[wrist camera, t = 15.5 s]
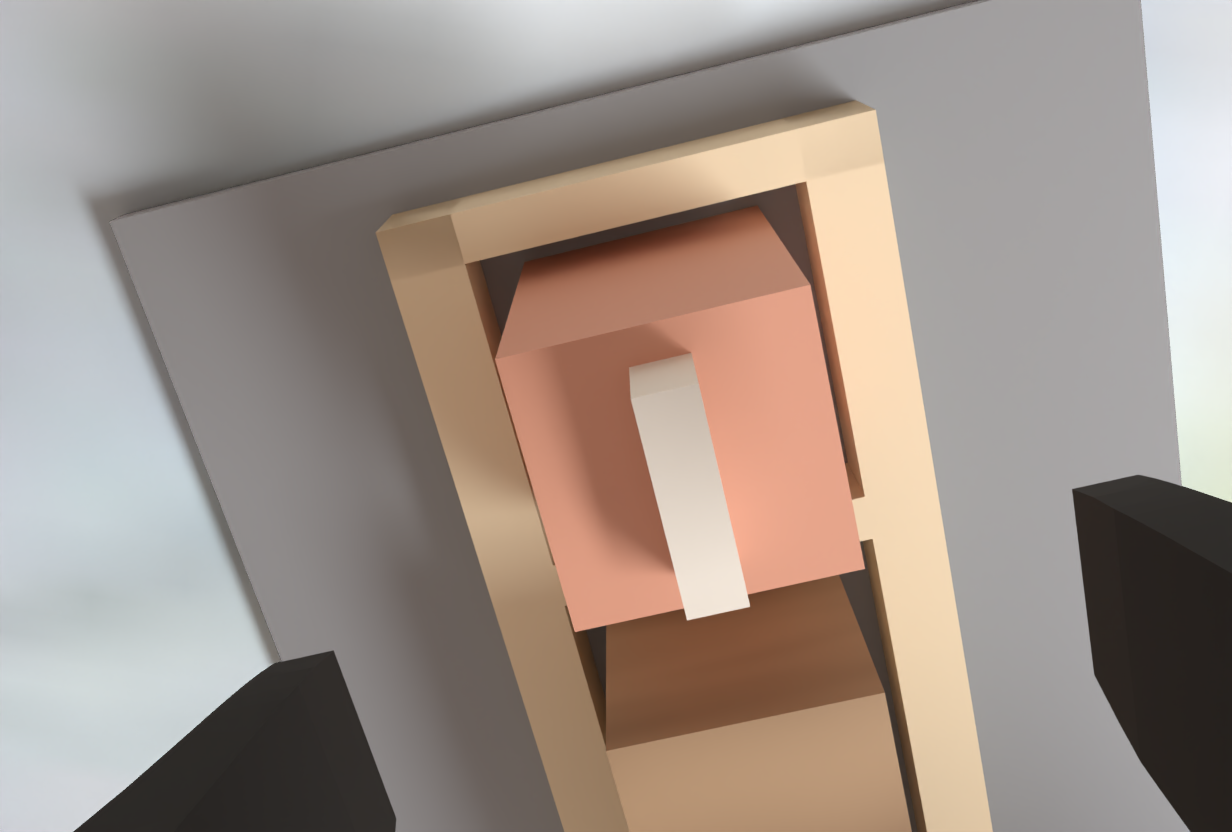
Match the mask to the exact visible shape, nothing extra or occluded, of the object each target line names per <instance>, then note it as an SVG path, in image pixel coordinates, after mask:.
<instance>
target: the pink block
mask: <svg viewBox="0 0 1232 832" xmlns="http://www.w3.org/2000/svg"><path fill="white" fill-rule="evenodd" d="M495 361H496V364H497V368H498V371H499V375H500V378H501V382H502V385H503V388H504V392H505V395H506V399H507V402H508V405H509V409H510V412H511V416H512V419H513V423H514V426H515V429H516V433H517V436H518V440H519V443H520V446H521V450H522V453H523V457H524V460H525V464H526V467H527V470H528V474H529V477H530V481H531V484H532V487H533V491H534V494H535V498H536V501H537V504H538V508H539V511H540V515H541V518H542V522H543V525H544V528H545V532H546V535H547V539H548V542H549V545H550V549H551V552H552V556H553V559H554V563H555V566H556V569H557V573H558V576H559V580H560V583H561V586H562V590H563V593H564V597H565V600H566V603H567V607H568V610H569V614H570V617H571V621H572V624H573V627H574V631H575V632H578V631H582V630H587V629H592V628H596V627H601V626H605V625H610V624H614V623H619V622H624V621H628V620H633V619H637V618H642V617H647V616H651V615H656V614H660V613H665V612H670V611H674V610H679V609H683V608H684V610H685V614H686V618H687V620H692V619H696V618H701V617H706V616H710V615H715V614H719V613H724V612H729V611H733V610H738V609H742V608H747V607H750V603H749V599H748V594H752V593H757V592H761V591H766V590H771V589H775V588H780V587H784V586H789V585H794V584H798V583H803V582H807V581H812V580H816V579H821V578H826V577H830V576H835V575H839V574H844V573H849V572H853V571H858V570H862V569H865V566H864V561H863V556H862V550H861V545H860V540H859V535H858V530H857V524H856V519H855V514H854V509H853V503H852V498H851V493H850V488H849V483H848V477H847V472H846V467H845V462H844V457H843V451H842V446H841V441H840V436H839V431H838V425H837V420H836V415H835V410H834V405H833V399H832V394H831V389H830V384H829V379H828V373H827V368H826V363H825V358H824V353H823V347H822V342H821V337H820V332H819V327H818V321H817V316H816V311H815V306H814V301H813V295H812V290H811V285H810V283H809V282H808V280H807V279H806V277H805V276H804V274H803V273H802V271H801V270H800V268H799V267H798V265H797V264H796V262H795V261H794V259H793V258H792V256H791V255H790V253H789V252H788V250H787V249H786V247H785V246H784V244H783V243H782V241H781V240H780V238H779V237H778V235H777V234H776V232H775V231H774V229H773V228H772V226H771V225H770V223H769V222H768V220H767V219H766V218H765V216H764V215H763V213H762V212H761V210H760V209H759V207H758V206H757V205H756V206H752V207H748V208H744V209H740V210H736V211H732V212H728V213H723V214H719V215H715V216H711V217H707V218H703V219H699V220H695V221H691V222H686V223H682V224H678V225H674V226H670V227H666V228H662V229H658V230H654V231H650V232H645V233H641V234H637V235H633V236H629V237H625V238H621V239H617V240H613V241H608V242H604V243H600V244H596V245H592V246H588V247H584V248H580V249H576V250H571V251H567V252H563V253H559V254H555V255H551V256H547V257H543V258H539V259H534V260H530V261H526V262H524V265H523V268H522V272H521V275H520V278H519V282H518V285H517V288H516V292H515V295H514V298H513V302H512V305H511V308H510V312H509V315H508V318H507V321H506V325H505V328H504V331H503V335H502V338H501V341H500V345H499V348H498V351H497V355H496V358H495Z"/></svg>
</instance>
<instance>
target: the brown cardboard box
mask: <svg viewBox="0 0 1232 832" xmlns="http://www.w3.org/2000/svg"><path fill="white" fill-rule="evenodd" d="M748 599H749V603H750V607H747V608H742V609H738V610H733V611H729V612H724V613H719V614H715V615H710V616H706V617H701V618H696V619H692V620H687V618H686V614H685V610H684V608H683V609H679V610H674V611H670V612H665V613H660V614H656V615H651V616H647V617H642V618H637V619H633V620H628V621H624V622H619V623H614V624H610V625H606V753H607V757H608V760H609V763H610V767H611V770H612V774H613V777H614V780H615V784H616V787H617V791H618V794H619V797H620V801H621V804H622V808H623V811H624V814H625V818H626V821H627V824H628V828H629V831H630V832H912V830H911V825H910V819H909V814H908V809H907V804H906V799H905V794H904V788H903V783H902V778H901V773H900V768H899V763H898V758H897V752H896V747H895V742H894V737H893V732H892V727H891V721H890V716H889V711H888V706H887V701H886V696H885V692H884V689H883V686H882V684H881V681H880V679H879V676H878V674H877V671H876V668H875V666H874V663H873V661H872V658H871V656H870V653H869V650H868V648H867V645H866V643H865V640H864V638H863V635H862V632H861V630H860V627H859V625H858V622H857V620H856V617H855V615H854V612H853V609H852V607H851V604H850V602H849V599H848V597H847V594H846V591H845V589H844V586H843V584H842V581H841V579H840V576H839V575H835V576H830V577H826V578H821V579H816V580H812V581H807V582H803V583H798V584H794V585H789V586H784V587H780V588H775V589H771V590H766V591H761V592H757V593H752V594H748Z"/></svg>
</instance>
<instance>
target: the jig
mask: <svg viewBox="0 0 1232 832" xmlns="http://www.w3.org/2000/svg"><path fill="white" fill-rule="evenodd" d="M756 205H757V206H758V207H759V209H760V210H761V212H762V213H763V215H764V216H765V218H766V219H767V220H768V222H769V223H770V225H771V226H772V228H773V229H774V231H775V232H776V234H777V235H778V237H779V238H780V240H781V241H782V243H783V244H784V246H785V247H786V249H787V250H788V252H789V253H790V255H791V256H792V258H793V259H794V261H795V262H796V264H797V265H798V267H799V268H800V270H801V271H802V273H803V274H804V276H805V277H806V279H807V280H808V282H809V283H810V285H811V290H812V295H813V301H814V306H815V311H816V316H817V321H818V327H819V332H820V337H821V342H822V347H823V353H824V358H825V363H826V368H827V373H828V379H829V384H830V389H831V394H832V399H833V405H834V410H835V415H836V420H837V425H838V431H839V436H840V441H841V446H842V451H843V457H844V462H845V467H846V472H847V477H848V483H849V488H850V493H851V498H852V503H853V509H854V514H855V519H856V524H857V530H858V535H859V540H860V545H861V550H862V556H863V561H864V566H865V569H862V570H858V571H853V572H849V573H844V574H839V576H840V579H841V581H842V584H843V586H844V589H845V591H846V594H847V597H848V599H849V602H850V604H851V607H852V609H853V612H854V615H855V617H856V620H857V622H858V625H859V627H860V630H861V632H862V635H863V638H864V640H865V643H866V645H867V648H868V650H869V653H870V656H871V658H872V661H873V663H874V666H875V668H876V671H877V674H878V676H879V679H880V681H881V684H882V686H883V689H884V692H885V696H886V701H887V706H888V711H889V716H890V721H891V727H892V732H893V737H894V742H895V747H896V752H897V758H898V763H899V768H900V773H901V778H902V783H903V788H904V794H905V799H906V804H907V809H908V814H909V819H910V825H911V830H912V832H1190V831H1189V829H1188V828H1187V827H1186V825H1185V824H1184V822H1183V821H1182V820H1181V818H1180V817H1179V815H1178V814H1177V813H1176V811H1175V810H1174V808H1173V807H1172V806H1171V804H1170V803H1169V801H1168V800H1167V799H1166V797H1165V796H1164V794H1163V793H1162V792H1161V790H1160V789H1159V788H1158V786H1157V785H1156V783H1155V782H1154V780H1153V779H1152V778H1151V776H1150V775H1149V773H1148V772H1147V770H1146V769H1145V768H1144V766H1143V765H1142V763H1141V762H1140V760H1139V758H1138V756H1137V755H1136V753H1135V751H1134V749H1133V747H1132V745H1131V744H1130V742H1129V740H1128V738H1127V736H1126V735H1125V733H1124V731H1123V729H1122V727H1121V725H1120V724H1119V722H1118V720H1117V718H1116V716H1115V714H1114V712H1113V710H1112V708H1111V706H1110V704H1109V702H1108V701H1107V699H1106V697H1105V695H1104V693H1103V691H1102V689H1101V687H1100V685H1099V683H1098V681H1097V679H1096V677H1095V675H1094V669H1093V661H1092V653H1091V644H1090V636H1089V628H1088V619H1087V611H1086V602H1085V594H1084V586H1083V577H1082V569H1081V561H1080V552H1079V544H1078V535H1077V527H1076V519H1075V510H1074V502H1073V494H1072V489H1074V488H1079V487H1084V486H1088V485H1093V484H1097V483H1102V482H1106V481H1111V480H1116V479H1120V478H1125V477H1129V476H1134V475H1143V476H1147V477H1152V478H1156V479H1159V480H1163V481H1167V482H1170V483H1173V484H1177V485H1180V486H1182V483H1181V471H1180V459H1179V448H1178V436H1177V424H1176V412H1175V400H1174V388H1173V377H1172V365H1171V353H1170V341H1169V329H1168V317H1167V305H1166V294H1165V282H1164V270H1163V258H1162V246H1161V234H1160V222H1159V211H1158V199H1157V187H1156V175H1155V163H1154V151H1153V140H1152V128H1151V116H1150V104H1149V92H1148V80H1147V68H1146V57H1145V45H1144V33H1143V21H1142V9H1141V0H977V1H973V2H969V3H965V4H961V5H957V6H953V7H949V8H945V9H941V10H937V11H934V12H930V13H926V14H922V15H918V16H914V17H910V18H906V19H902V20H898V21H894V22H890V23H886V24H882V25H878V26H874V27H870V28H866V29H862V30H858V31H854V32H850V33H846V34H842V35H838V36H834V37H830V38H826V39H822V40H818V41H814V42H810V43H806V44H802V45H798V46H794V47H790V48H786V49H782V50H778V51H774V52H770V53H766V54H762V55H758V56H754V57H750V58H746V59H742V60H738V61H734V62H730V63H726V64H723V65H719V66H715V67H711V68H707V69H703V70H699V71H695V72H691V73H687V74H683V75H679V76H675V77H671V78H667V79H663V80H659V81H655V82H651V83H647V84H643V85H639V86H635V87H631V88H627V89H623V90H619V91H615V92H611V93H607V94H603V95H599V96H595V97H591V98H587V99H583V100H579V101H575V102H571V103H567V104H563V105H559V106H555V107H551V108H547V109H543V110H539V111H535V112H531V113H527V114H523V115H519V116H515V117H512V118H508V119H504V120H500V121H496V122H492V123H488V124H484V125H480V126H476V127H472V128H468V129H464V130H460V131H456V132H452V133H448V134H444V135H440V136H436V137H432V138H428V139H424V140H420V141H416V142H412V143H408V144H404V145H400V146H396V147H392V148H388V149H384V150H380V151H376V152H372V153H368V154H364V155H360V156H356V157H352V158H348V159H344V160H340V161H336V162H332V163H328V164H324V165H320V166H316V167H312V168H308V169H304V170H301V171H297V172H293V173H289V174H285V175H281V176H277V177H273V178H269V179H265V180H261V181H257V182H253V183H249V184H245V185H241V186H237V187H233V188H229V189H225V190H221V191H217V192H213V193H209V194H205V195H201V196H197V197H193V198H189V199H185V200H181V201H177V202H173V203H169V204H165V205H161V206H157V207H153V208H149V209H145V210H141V211H137V212H133V213H129V214H125V215H122V216H120V217H118V218H116V219H114V220H112V221H110V222H109V223H110V225H111V228H112V231H113V233H114V236H115V238H116V241H117V243H118V246H119V248H120V251H121V253H122V256H123V259H124V261H125V264H126V266H127V269H128V271H129V274H130V276H131V279H132V282H133V284H134V287H135V289H136V292H137V294H138V297H139V299H140V302H141V304H142V307H143V310H144V312H145V315H146V317H147V320H148V322H149V325H150V327H151V330H152V332H153V335H154V338H155V340H156V343H157V345H158V348H159V350H160V353H161V355H162V358H163V361H164V363H165V366H166V368H167V371H168V373H169V376H170V378H171V381H172V383H173V386H174V389H175V391H176V394H177V396H178V399H179V401H180V404H181V406H182V409H183V411H184V414H185V417H186V419H187V422H188V424H189V427H190V429H191V432H192V434H193V437H194V440H195V442H196V445H197V447H198V450H199V452H200V455H201V457H202V460H203V462H204V465H205V468H206V470H207V473H208V475H209V478H210V480H211V483H212V485H213V488H214V491H215V493H216V496H217V498H218V501H219V503H220V506H221V508H222V511H223V513H224V516H225V519H226V521H227V524H228V526H229V529H230V531H231V534H232V536H233V539H234V541H235V544H236V547H237V549H238V552H239V554H240V557H241V559H242V562H243V564H244V567H245V570H246V572H247V575H248V577H249V580H250V582H251V585H252V587H253V590H254V592H255V595H256V598H257V600H258V603H259V605H260V608H261V610H262V613H263V615H264V618H265V620H266V623H267V626H268V628H269V631H270V633H271V636H272V638H273V641H274V643H275V646H276V649H277V651H278V654H279V656H280V659H281V661H287V660H292V659H296V658H301V657H305V656H310V655H315V654H319V653H324V652H328V651H333V650H334V653H335V655H336V658H337V661H338V663H339V666H340V669H341V671H342V674H343V677H344V679H345V682H346V685H347V687H348V690H349V693H350V696H351V698H352V701H353V704H354V706H355V709H356V712H357V714H358V717H359V720H360V722H361V725H362V728H363V730H364V733H365V736H366V738H367V741H368V744H369V746H370V749H371V752H372V754H373V757H374V760H375V762H376V765H377V768H378V771H379V773H380V776H381V779H382V781H383V784H384V787H385V789H386V792H387V795H388V797H389V800H390V803H391V805H392V808H393V811H394V813H395V816H396V829H395V832H630V831H629V828H628V824H627V821H626V818H625V814H624V811H623V808H622V804H621V801H620V797H619V794H618V791H617V787H616V784H615V780H614V777H613V774H612V770H611V767H610V763H609V760H608V757H607V753H606V625H605V626H601V627H596V628H592V629H587V630H582V631H578V632H575V631H574V627H573V624H572V621H571V617H570V614H569V610H568V607H567V603H566V600H565V597H564V593H563V590H562V586H561V583H560V580H559V576H558V573H557V569H556V566H555V563H554V559H553V556H552V552H551V549H550V545H549V542H548V539H547V535H546V532H545V528H544V525H543V522H542V518H541V515H540V511H539V508H538V504H537V501H536V498H535V494H534V491H533V487H532V484H531V481H530V477H529V474H528V470H527V467H526V464H525V460H524V457H523V453H522V450H521V446H520V443H519V440H518V436H517V433H516V429H515V426H514V423H513V419H512V416H511V412H510V409H509V405H508V402H507V399H506V395H505V392H504V388H503V385H502V382H501V378H500V375H499V371H498V368H497V364H496V361H495V358H496V355H497V351H498V348H499V345H500V341H501V338H502V335H503V331H504V328H505V325H506V321H507V318H508V315H509V312H510V308H511V305H512V302H513V298H514V295H515V292H516V288H517V285H518V282H519V278H520V275H521V272H522V268H523V265H524V262H526V261H530V260H534V259H539V258H543V257H547V256H551V255H555V254H559V253H563V252H567V251H571V250H576V249H580V248H584V247H588V246H592V245H596V244H600V243H604V242H608V241H613V240H617V239H621V238H625V237H629V236H633V235H637V234H641V233H645V232H650V231H654V230H658V229H662V228H666V227H670V226H674V225H678V224H682V223H686V222H691V221H695V220H699V219H703V218H707V217H711V216H715V215H719V214H723V213H728V212H732V211H736V210H740V209H744V208H748V207H752V206H756Z"/></svg>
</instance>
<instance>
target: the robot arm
mask: <svg viewBox="0 0 1232 832" xmlns="http://www.w3.org/2000/svg"><path fill="white" fill-rule="evenodd" d="M1072 494H1073V502H1074V510H1075V519H1076V527H1077V535H1078V544H1079V552H1080V561H1081V569H1082V577H1083V586H1084V594H1085V602H1086V611H1087V619H1088V628H1089V636H1090V644H1091V653H1092V661H1093V669H1094V675H1095V677H1096V679H1097V681H1098V683H1099V685H1100V687H1101V689H1102V691H1103V693H1104V695H1105V697H1106V699H1107V701H1108V702H1109V704H1110V706H1111V708H1112V710H1113V712H1114V714H1115V716H1116V718H1117V720H1118V722H1119V724H1120V725H1121V727H1122V729H1123V731H1124V733H1125V735H1126V736H1127V738H1128V740H1129V742H1130V744H1131V745H1132V747H1133V749H1134V751H1135V753H1136V755H1137V756H1138V758H1139V760H1140V762H1141V763H1142V765H1143V766H1144V768H1145V769H1146V770H1147V772H1148V773H1149V775H1150V776H1151V778H1152V779H1153V780H1154V782H1155V783H1156V785H1157V786H1158V788H1159V789H1160V790H1161V792H1162V793H1163V794H1164V796H1165V797H1166V799H1167V800H1168V801H1169V803H1170V804H1171V806H1172V807H1173V808H1174V810H1175V811H1176V813H1177V814H1178V815H1179V817H1180V818H1181V820H1182V821H1183V822H1184V824H1185V825H1186V827H1187V828H1188V829H1189V831H1190V832H1232V503H1231V502H1228V501H1225V500H1222V499H1219V498H1216V497H1213V496H1210V495H1207V494H1204V493H1201V492H1198V491H1195V490H1192V489H1189V488H1186V487H1183V486H1180V485H1177V484H1173V483H1170V482H1167V481H1163V480H1159V479H1156V478H1152V477H1147V476H1143V475H1134V476H1129V477H1125V478H1120V479H1116V480H1111V481H1106V482H1102V483H1097V484H1093V485H1088V486H1084V487H1079V488H1074V489H1072ZM395 829H396V816H395V813H394V811H393V808H392V805H391V803H390V800H389V797H388V795H387V792H386V789H385V787H384V784H383V781H382V779H381V776H380V773H379V771H378V768H377V765H376V762H375V760H374V757H373V754H372V752H371V749H370V746H369V744H368V741H367V738H366V736H365V733H364V730H363V728H362V725H361V722H360V720H359V717H358V714H357V712H356V709H355V706H354V704H353V701H352V698H351V696H350V693H349V690H348V687H347V685H346V682H345V679H344V677H343V674H342V671H341V669H340V666H339V663H338V661H337V658H336V655H335V653H334V650H333V651H328V652H324V653H319V654H315V655H310V656H305V657H301V658H296V659H292V660H287V661H282V662H278V663H274V664H273V665H271V666H270V667H268V668H267V669H265V670H264V671H262V672H261V673H259V674H258V675H257V676H255V677H254V678H253V679H252V680H250V681H249V682H248V683H247V684H245V685H244V686H243V687H242V688H240V689H239V690H238V691H237V692H236V693H234V694H233V695H232V696H231V697H230V698H228V699H227V700H226V701H225V702H224V703H223V704H221V705H220V706H219V707H218V708H217V709H216V710H215V711H213V712H212V713H211V714H210V715H209V716H208V717H207V718H205V719H204V720H203V721H202V722H201V723H200V724H199V725H197V726H196V727H195V728H194V729H193V730H192V731H191V732H190V733H188V734H187V735H186V736H185V737H184V738H183V739H182V740H180V741H179V742H178V743H177V744H176V745H175V746H174V747H173V748H171V749H170V750H169V751H168V752H167V753H166V754H165V755H163V756H162V757H161V758H160V759H159V760H158V761H157V762H156V763H154V764H153V765H152V766H151V767H150V768H149V769H148V770H146V771H145V772H144V773H143V774H142V775H141V776H140V777H138V778H137V779H136V780H135V781H134V782H133V783H132V784H130V785H129V786H128V787H127V788H126V789H125V790H123V791H122V792H121V793H120V794H119V795H117V796H116V797H115V798H114V799H113V800H111V801H110V802H109V803H108V804H106V805H105V806H104V807H103V808H102V809H100V810H99V811H98V812H97V813H96V814H94V815H93V816H92V817H91V818H89V819H88V820H87V821H86V822H85V823H83V824H82V825H81V826H80V827H79V828H77V829H76V830H75V831H74V832H395Z"/></svg>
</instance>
